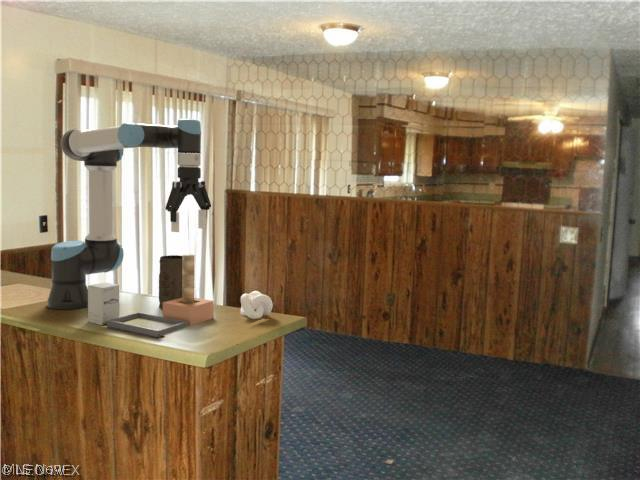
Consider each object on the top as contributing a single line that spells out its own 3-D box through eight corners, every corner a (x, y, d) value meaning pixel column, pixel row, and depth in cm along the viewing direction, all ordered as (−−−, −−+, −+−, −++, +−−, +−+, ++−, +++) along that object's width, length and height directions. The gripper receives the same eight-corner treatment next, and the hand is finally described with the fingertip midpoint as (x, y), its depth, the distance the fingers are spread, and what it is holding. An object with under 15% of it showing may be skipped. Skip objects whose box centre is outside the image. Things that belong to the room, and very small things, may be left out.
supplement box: (102, 325, 209) (101, 287, 207) (87, 321, 212) (86, 284, 211) (120, 321, 215) (119, 284, 213) (105, 317, 219) (105, 281, 217)
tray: (107, 327, 206) (107, 320, 206) (138, 319, 218) (138, 311, 218) (157, 338, 195) (157, 330, 195) (188, 328, 208) (188, 321, 207)
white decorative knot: (260, 324, 217) (260, 298, 215) (230, 319, 221) (230, 294, 220) (275, 317, 227) (276, 292, 226) (246, 312, 232) (246, 288, 230)
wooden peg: (179, 319, 216) (180, 255, 213) (187, 316, 219) (187, 253, 216) (188, 321, 214) (189, 256, 211) (196, 318, 217) (197, 255, 214)
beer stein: (180, 313, 227) (182, 258, 225) (152, 311, 229) (154, 256, 227) (197, 307, 242) (198, 255, 240) (170, 305, 244) (172, 253, 243)
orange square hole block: (162, 322, 214) (162, 302, 213) (186, 315, 225) (186, 296, 224) (190, 328, 208) (190, 307, 208) (213, 320, 219) (213, 300, 218)
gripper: (171, 166, 197) (172, 234, 200) (221, 167, 219) (221, 228, 222) (153, 165, 201) (154, 232, 204) (204, 166, 223) (204, 226, 225)
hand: (189, 230), depth 213 cm, fingers open, 13 cm apart
